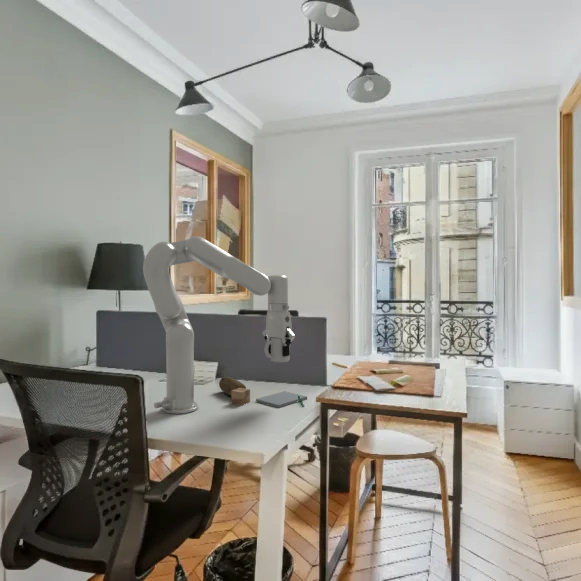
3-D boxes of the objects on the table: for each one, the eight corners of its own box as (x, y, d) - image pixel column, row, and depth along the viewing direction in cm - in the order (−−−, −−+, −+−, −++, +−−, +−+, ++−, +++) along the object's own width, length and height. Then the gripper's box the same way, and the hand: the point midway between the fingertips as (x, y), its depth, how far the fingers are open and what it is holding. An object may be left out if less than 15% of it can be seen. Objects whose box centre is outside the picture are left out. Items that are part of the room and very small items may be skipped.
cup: (292, 361, 172) (292, 338, 171) (267, 363, 168) (267, 339, 167) (285, 358, 178) (285, 335, 178) (261, 360, 174) (261, 336, 174)
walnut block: (242, 405, 169) (242, 392, 169) (231, 403, 171) (231, 390, 171) (250, 402, 173) (250, 389, 173) (238, 400, 176) (238, 387, 175)
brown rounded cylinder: (215, 392, 188) (215, 376, 187) (230, 390, 192) (230, 374, 191) (234, 400, 176) (234, 383, 175) (249, 398, 180) (249, 381, 179)
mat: (278, 407, 166) (278, 405, 166) (255, 401, 174) (255, 399, 174) (307, 399, 178) (307, 396, 178) (284, 393, 186) (284, 391, 186)
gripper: (301, 308, 169) (302, 356, 169) (269, 306, 181) (269, 351, 181) (287, 309, 163) (288, 359, 164) (255, 307, 175) (255, 353, 176)
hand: (278, 354), depth 173 cm, fingers closed on cup, 7 cm apart
